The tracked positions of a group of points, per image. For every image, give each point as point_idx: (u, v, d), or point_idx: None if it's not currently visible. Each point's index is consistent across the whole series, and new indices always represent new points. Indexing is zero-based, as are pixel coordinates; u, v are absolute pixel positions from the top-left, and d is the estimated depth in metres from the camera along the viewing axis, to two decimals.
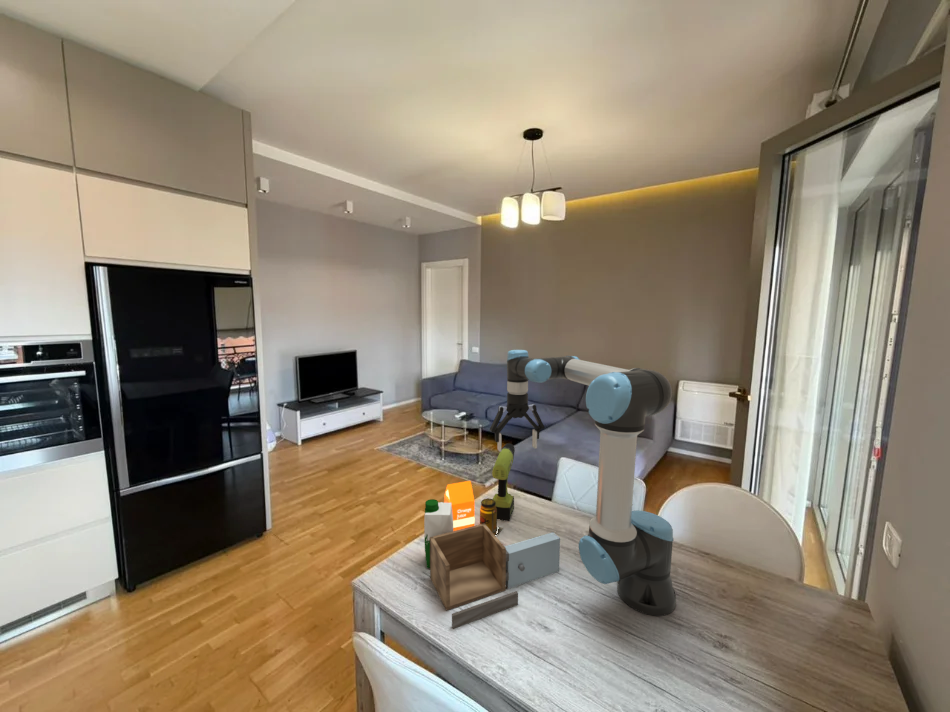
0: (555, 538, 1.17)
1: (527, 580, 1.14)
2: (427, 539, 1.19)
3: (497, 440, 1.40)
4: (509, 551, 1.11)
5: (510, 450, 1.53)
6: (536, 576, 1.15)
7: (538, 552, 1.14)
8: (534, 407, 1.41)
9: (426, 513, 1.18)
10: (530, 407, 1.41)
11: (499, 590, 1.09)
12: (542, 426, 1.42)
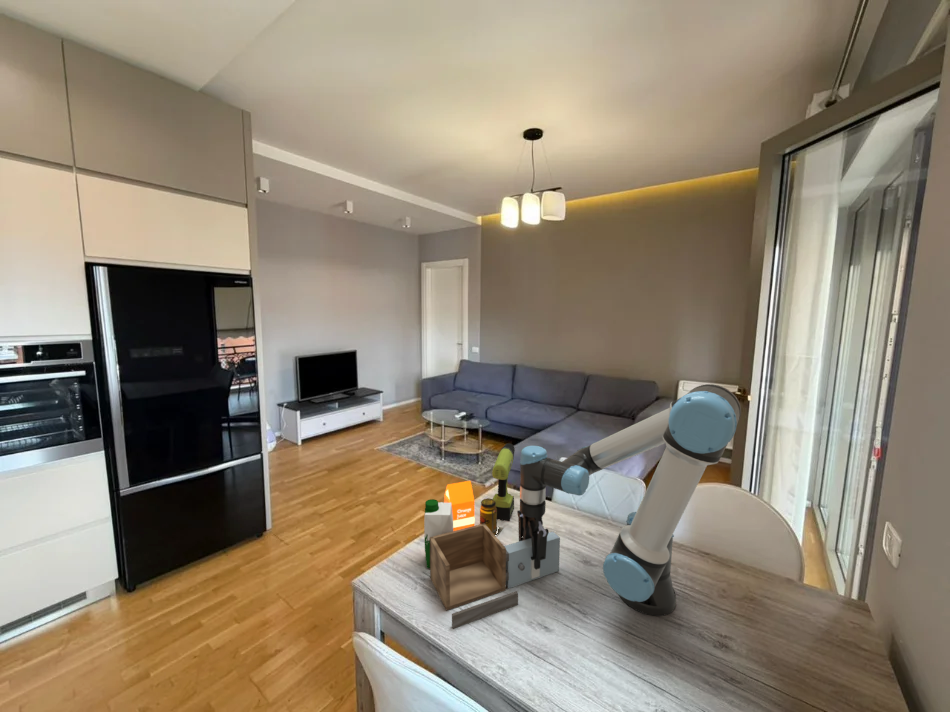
0: (555, 537, 1.17)
1: (527, 579, 1.14)
2: (427, 539, 1.19)
3: None
4: (509, 551, 1.11)
5: (510, 450, 1.53)
6: None
7: None
8: (539, 533, 1.08)
9: (426, 513, 1.18)
10: (539, 528, 1.10)
11: (499, 590, 1.09)
12: (537, 557, 1.10)
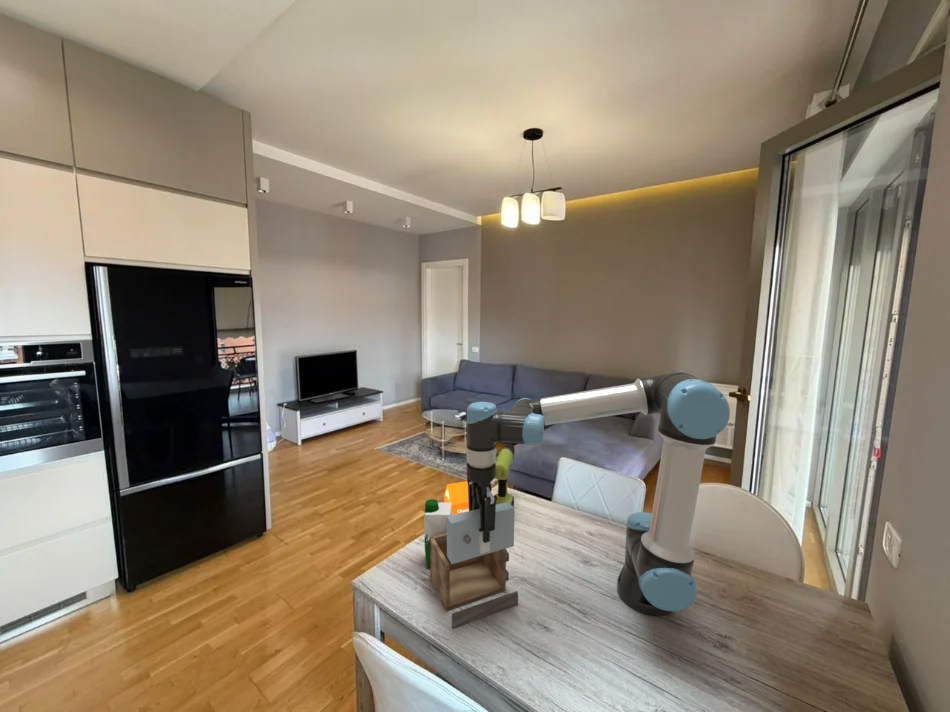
0: (509, 507, 1.03)
1: (475, 555, 1.00)
2: (427, 539, 1.19)
3: None
4: (453, 520, 0.97)
5: (510, 450, 1.53)
6: None
7: None
8: (486, 500, 0.94)
9: (426, 513, 1.18)
10: (487, 495, 0.96)
11: (499, 590, 1.09)
12: (485, 528, 0.96)
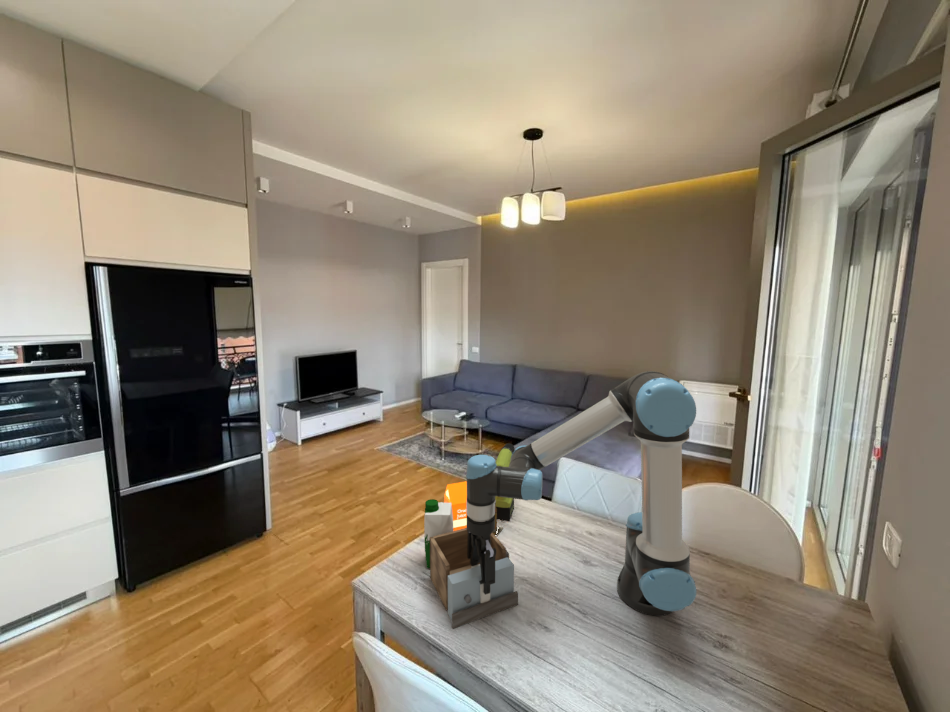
0: (509, 564, 1.05)
1: None
2: (427, 539, 1.19)
3: None
4: (454, 581, 0.99)
5: (510, 450, 1.53)
6: None
7: None
8: (486, 553, 0.96)
9: (426, 513, 1.18)
10: (487, 548, 0.98)
11: None
12: (485, 581, 0.98)
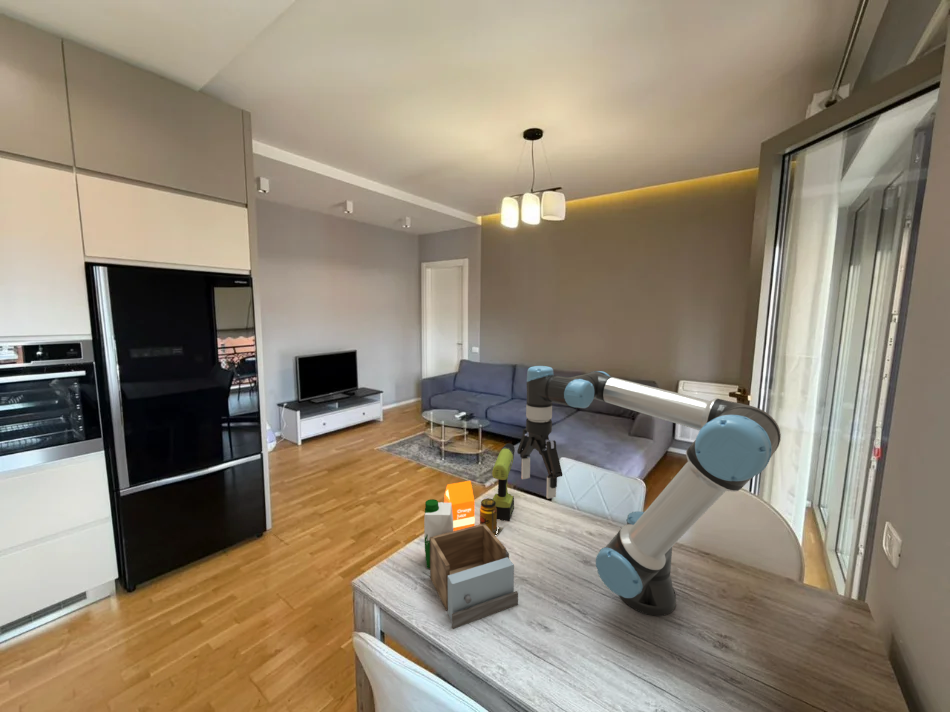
0: (509, 564, 1.05)
1: None
2: (427, 539, 1.19)
3: (522, 465, 1.22)
4: (454, 581, 0.99)
5: (510, 450, 1.53)
6: None
7: (487, 581, 1.02)
8: (547, 444, 1.08)
9: (426, 513, 1.18)
10: (547, 443, 1.09)
11: None
12: (553, 474, 1.06)
